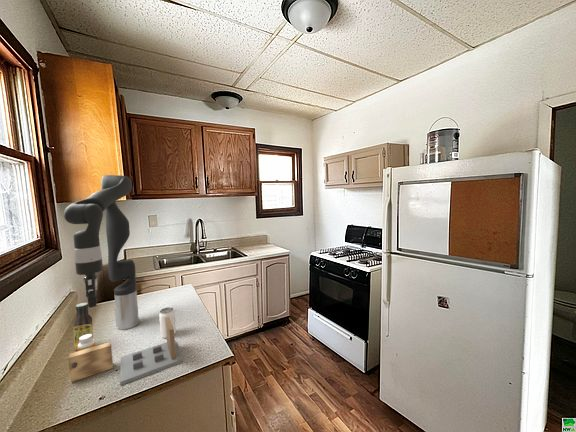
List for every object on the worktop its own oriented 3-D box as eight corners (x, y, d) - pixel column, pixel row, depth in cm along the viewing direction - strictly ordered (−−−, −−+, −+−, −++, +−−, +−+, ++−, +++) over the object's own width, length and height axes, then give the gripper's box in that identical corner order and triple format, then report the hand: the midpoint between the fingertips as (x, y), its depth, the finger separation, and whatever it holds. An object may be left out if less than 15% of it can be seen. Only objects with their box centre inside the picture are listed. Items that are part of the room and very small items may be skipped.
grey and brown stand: (120, 385, 84) (117, 349, 83) (121, 359, 97) (118, 328, 96) (182, 361, 95) (180, 329, 94) (175, 342, 108) (173, 313, 107)
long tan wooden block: (70, 383, 85) (67, 359, 85) (72, 377, 89) (69, 353, 88) (112, 369, 92) (110, 346, 91) (112, 363, 95) (110, 341, 94)
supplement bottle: (82, 365, 94) (79, 342, 93) (76, 361, 97) (74, 338, 96) (98, 357, 99) (96, 335, 98) (93, 353, 102) (90, 331, 101)
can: (169, 339, 110) (168, 313, 109) (157, 338, 112) (155, 312, 111) (179, 331, 117) (177, 307, 116) (167, 330, 118) (165, 306, 117)
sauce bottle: (73, 355, 101) (67, 309, 99) (77, 347, 106) (72, 303, 105) (92, 350, 104) (88, 305, 102) (96, 342, 109) (91, 300, 108)
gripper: (101, 261, 84) (106, 306, 86) (102, 254, 96) (105, 294, 97) (73, 265, 80) (78, 313, 81) (76, 257, 91) (81, 299, 93)
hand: (93, 302), depth 89 cm, fingers open, 8 cm apart
